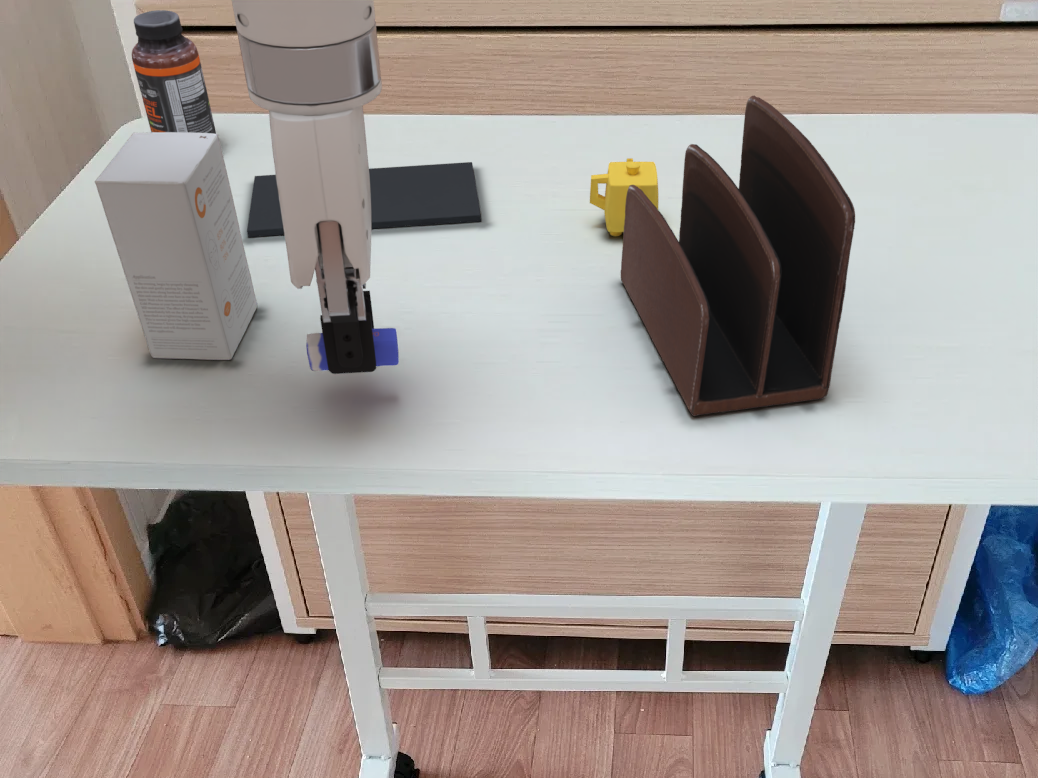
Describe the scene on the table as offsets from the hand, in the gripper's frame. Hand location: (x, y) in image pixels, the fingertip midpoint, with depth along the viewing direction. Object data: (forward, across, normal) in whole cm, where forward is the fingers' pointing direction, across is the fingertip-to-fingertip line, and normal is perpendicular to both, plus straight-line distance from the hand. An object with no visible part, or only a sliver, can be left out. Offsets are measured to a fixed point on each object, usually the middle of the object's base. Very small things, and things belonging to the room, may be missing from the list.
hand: (352, 357), depth 76 cm
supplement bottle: (+4, -46, -16) cm, 49 cm away
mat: (+4, -32, +1) cm, 32 cm away
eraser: (+1, 0, 0) cm, 1 cm away
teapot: (+3, -24, +23) cm, 33 cm away
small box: (+4, -11, -12) cm, 16 cm away
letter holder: (+3, -5, +27) cm, 27 cm away
